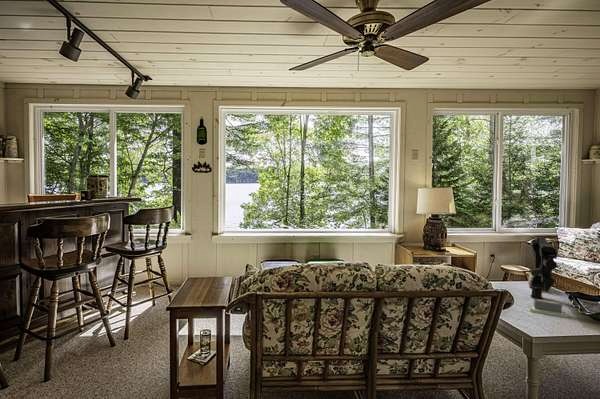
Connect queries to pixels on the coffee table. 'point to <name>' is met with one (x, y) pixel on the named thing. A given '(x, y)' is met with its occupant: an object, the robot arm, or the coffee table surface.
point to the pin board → (547, 312)
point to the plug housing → (547, 305)
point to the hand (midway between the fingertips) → (544, 289)
